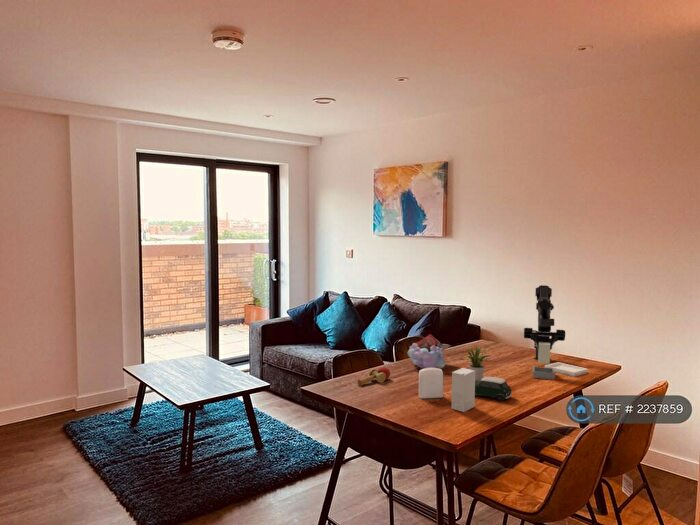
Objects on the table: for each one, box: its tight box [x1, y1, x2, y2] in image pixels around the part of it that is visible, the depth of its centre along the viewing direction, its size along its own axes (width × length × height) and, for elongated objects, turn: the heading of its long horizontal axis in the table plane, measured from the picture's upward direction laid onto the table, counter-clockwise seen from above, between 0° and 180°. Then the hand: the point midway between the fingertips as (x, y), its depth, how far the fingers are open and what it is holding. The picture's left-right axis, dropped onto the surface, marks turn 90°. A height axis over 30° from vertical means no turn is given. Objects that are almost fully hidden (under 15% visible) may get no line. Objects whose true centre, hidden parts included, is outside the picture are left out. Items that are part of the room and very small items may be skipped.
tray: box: [543, 362, 589, 378], centre depth 252 cm, size 16×12×2 cm
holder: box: [532, 366, 556, 381], centre depth 243 cm, size 10×10×3 cm
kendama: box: [357, 366, 391, 387], centre depth 232 cm, size 8×6×18 cm
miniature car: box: [475, 376, 513, 403], centre depth 212 cm, size 9×18×8 cm, turn 57°
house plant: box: [465, 344, 492, 381], centre depth 236 cm, size 14×14×16 cm
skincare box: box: [450, 367, 476, 413], centre depth 197 cm, size 8×6×15 cm
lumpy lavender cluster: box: [407, 333, 452, 370], centre depth 259 cm, size 20×22×18 cm
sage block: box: [537, 342, 551, 365], centre depth 242 cm, size 5×5×9 cm
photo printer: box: [418, 368, 444, 399], centre depth 210 cm, size 10×4×12 cm, turn 96°
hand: (544, 348), depth 241 cm, fingers closed on sage block, 5 cm apart
